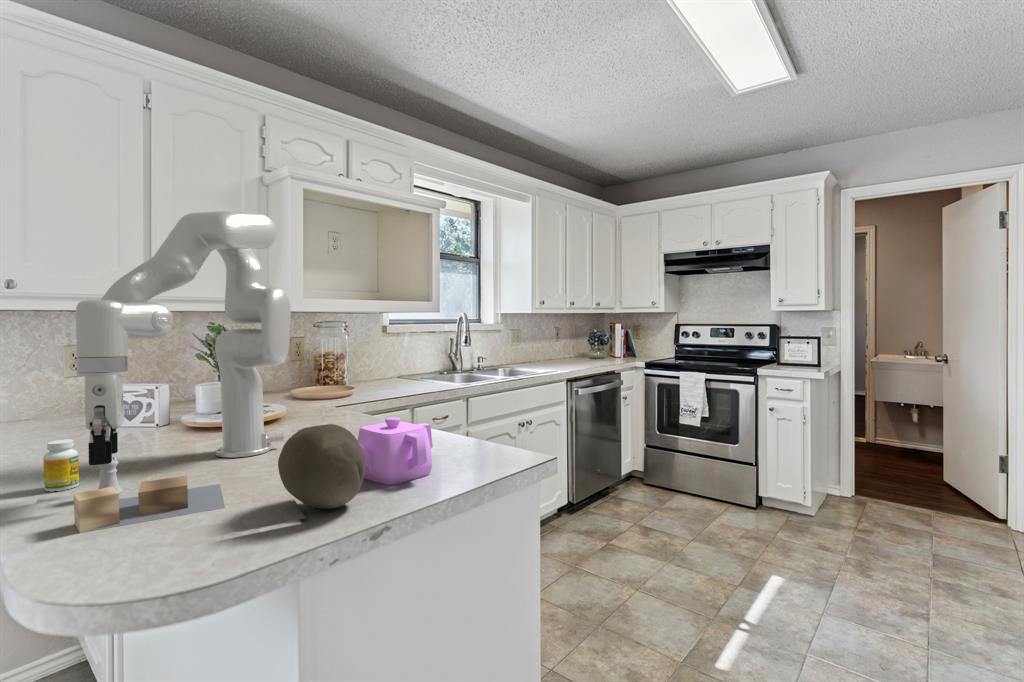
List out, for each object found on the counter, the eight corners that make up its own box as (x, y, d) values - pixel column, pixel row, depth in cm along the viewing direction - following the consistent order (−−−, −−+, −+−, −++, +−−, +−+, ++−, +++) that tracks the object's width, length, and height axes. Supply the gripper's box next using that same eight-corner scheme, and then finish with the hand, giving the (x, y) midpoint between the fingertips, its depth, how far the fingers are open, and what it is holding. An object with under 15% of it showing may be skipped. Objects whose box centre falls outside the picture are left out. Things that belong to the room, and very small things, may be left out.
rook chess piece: (100, 506, 95) (98, 463, 95) (89, 502, 97) (88, 459, 97) (128, 499, 99) (126, 457, 98) (117, 495, 101) (116, 454, 101)
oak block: (113, 515, 88) (111, 486, 88) (119, 523, 85) (118, 493, 84) (74, 524, 84) (73, 494, 84) (80, 532, 81) (78, 501, 81)
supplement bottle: (50, 486, 107) (48, 440, 107) (83, 482, 109) (81, 437, 109) (40, 494, 102) (38, 445, 102) (75, 490, 105) (73, 442, 104)
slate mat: (219, 487, 105) (219, 483, 105) (225, 512, 91) (225, 507, 91) (93, 507, 94) (93, 503, 94) (78, 538, 81) (78, 533, 81)
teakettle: (428, 485, 106) (427, 424, 105) (343, 487, 105) (342, 426, 104) (436, 462, 123) (435, 410, 122) (363, 464, 122) (362, 411, 121)
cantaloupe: (344, 490, 103) (342, 414, 102) (379, 508, 92) (378, 424, 92) (269, 508, 93) (266, 425, 92) (299, 531, 83) (297, 437, 82)
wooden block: (187, 496, 97) (187, 475, 97) (188, 507, 91) (187, 485, 91) (141, 503, 94) (141, 482, 94) (139, 516, 88) (138, 492, 88)
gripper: (123, 368, 91) (124, 465, 92) (131, 364, 106) (132, 448, 106) (67, 370, 87) (69, 471, 88) (84, 365, 102) (85, 452, 102)
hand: (104, 458), depth 97 cm, fingers open, 9 cm apart
